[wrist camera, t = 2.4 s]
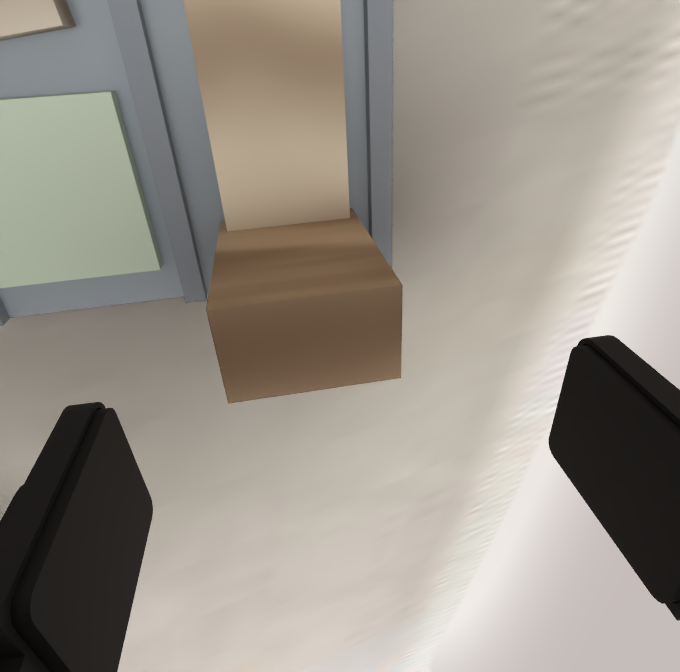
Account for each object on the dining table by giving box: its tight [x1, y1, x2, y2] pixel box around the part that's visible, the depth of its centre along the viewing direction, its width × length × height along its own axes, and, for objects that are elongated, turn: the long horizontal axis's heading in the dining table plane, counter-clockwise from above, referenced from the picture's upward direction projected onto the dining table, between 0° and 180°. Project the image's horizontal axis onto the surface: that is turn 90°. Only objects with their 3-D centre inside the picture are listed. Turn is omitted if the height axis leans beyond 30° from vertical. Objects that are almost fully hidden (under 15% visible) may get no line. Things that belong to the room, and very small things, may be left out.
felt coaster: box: [0, 90, 163, 288], centre depth 16 cm, size 6×6×1 cm
